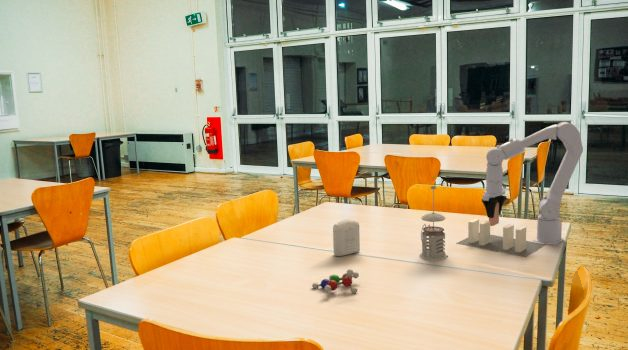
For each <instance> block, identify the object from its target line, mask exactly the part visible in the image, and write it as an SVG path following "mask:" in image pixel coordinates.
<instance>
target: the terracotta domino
mask: <svg viewBox="0 0 628 350" xmlns="http://www.w3.org/2000/svg"><path fill="white" fill-rule="evenodd" d="M488 221H490V227H493V226H496V225H498V224H500V223H499V222H500V215H499V203H497V204H496V207H495V214H494V218H489V217H488Z"/></svg>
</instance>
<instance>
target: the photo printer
mask: <svg viewBox="0 0 628 350" xmlns="http://www.w3.org/2000/svg"><path fill="white" fill-rule="evenodd" d="M360 238H361V237H360V223H359V221H358V220H356V219H344V220H340V221H338V222H336V223H335V224H333V226H332V242H333V243H332V245H333V255H334V256H335V257H341V256H347V255H351V254H355V253H359V252H360V248H361V246H360V243H361V242H360Z"/></svg>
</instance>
